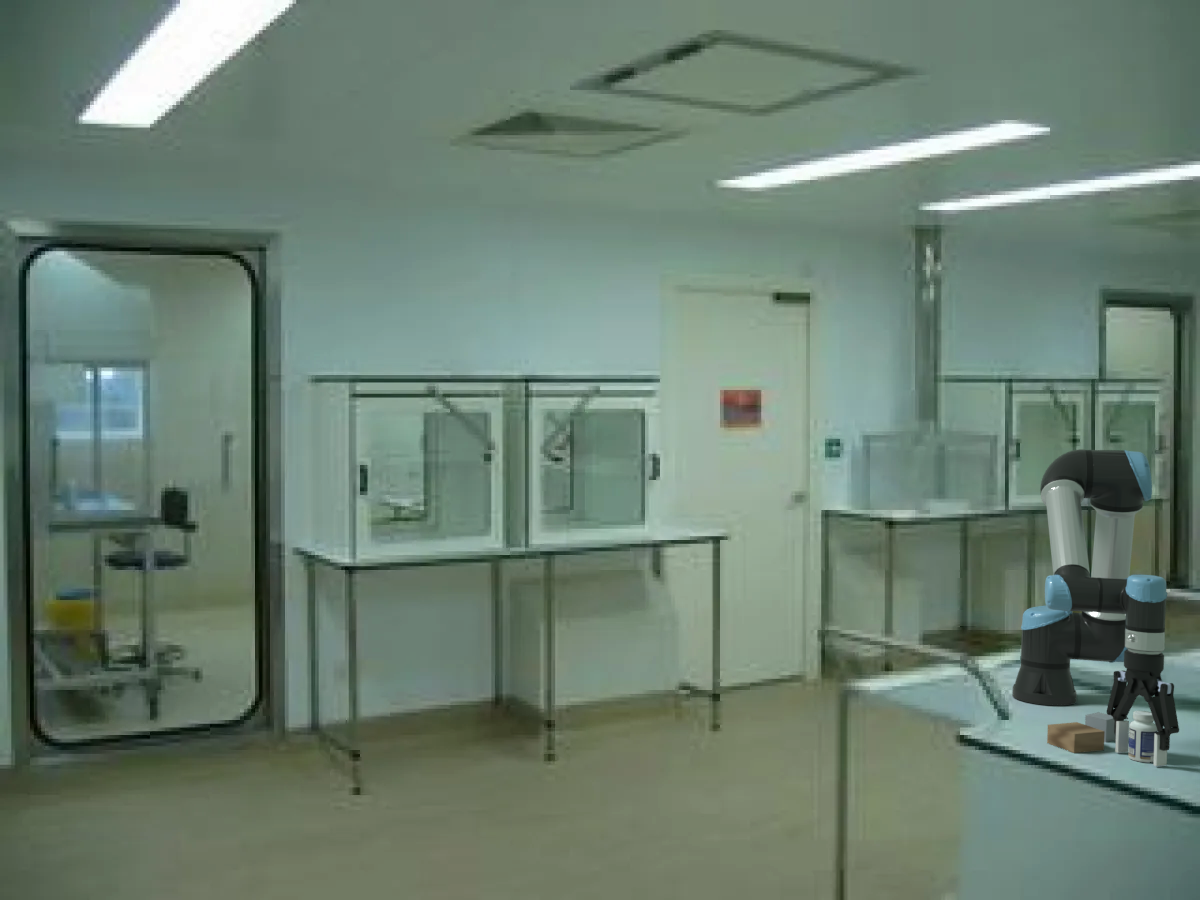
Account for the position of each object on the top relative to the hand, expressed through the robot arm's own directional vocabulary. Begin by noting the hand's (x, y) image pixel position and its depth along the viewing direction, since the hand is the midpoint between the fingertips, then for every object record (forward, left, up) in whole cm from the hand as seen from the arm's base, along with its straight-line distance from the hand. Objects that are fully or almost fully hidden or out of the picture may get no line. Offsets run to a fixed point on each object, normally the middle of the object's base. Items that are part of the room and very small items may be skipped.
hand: (1140, 758), depth 248 cm
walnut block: (-12, -6, 0) cm, 13 cm away
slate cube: (-16, +5, 0) cm, 17 cm away
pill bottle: (0, +1, 0) cm, 1 cm away
